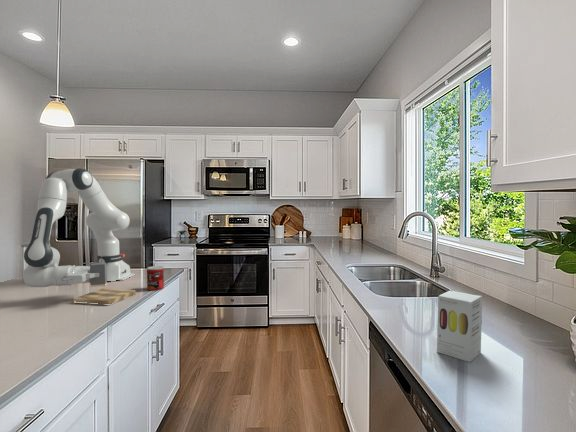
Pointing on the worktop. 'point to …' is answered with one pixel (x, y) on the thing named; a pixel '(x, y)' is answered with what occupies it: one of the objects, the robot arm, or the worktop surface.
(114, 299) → the oak board
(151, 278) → the canned food
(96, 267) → the block
